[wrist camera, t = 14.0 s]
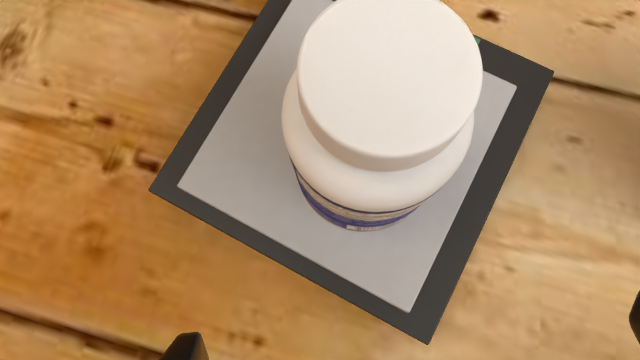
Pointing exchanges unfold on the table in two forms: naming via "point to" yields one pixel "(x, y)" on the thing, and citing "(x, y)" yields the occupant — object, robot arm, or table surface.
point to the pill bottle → (380, 108)
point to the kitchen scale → (294, 211)
